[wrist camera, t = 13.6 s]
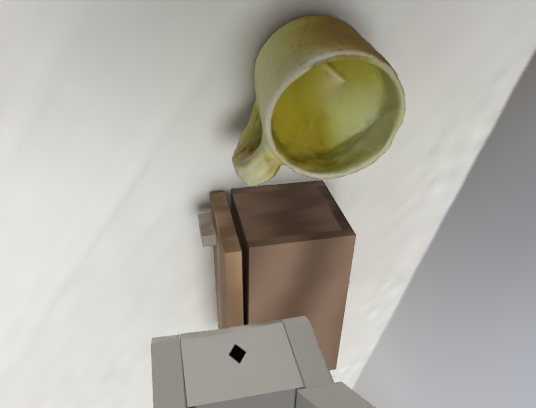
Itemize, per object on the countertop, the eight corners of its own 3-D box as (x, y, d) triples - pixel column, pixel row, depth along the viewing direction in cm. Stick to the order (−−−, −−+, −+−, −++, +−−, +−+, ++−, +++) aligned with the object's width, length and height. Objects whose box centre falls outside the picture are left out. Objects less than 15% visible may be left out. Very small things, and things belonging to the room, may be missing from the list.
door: (225, 191, 42) (243, 250, 36) (231, 324, 51) (246, 392, 44) (195, 194, 42) (207, 255, 35) (206, 328, 50) (217, 397, 44)
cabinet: (322, 180, 44) (355, 235, 38) (310, 306, 52) (335, 369, 46) (231, 189, 42) (249, 247, 36) (233, 317, 51) (248, 384, 44)
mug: (353, -44, 33) (402, 57, 27) (382, 67, 41) (424, 162, 35) (185, 34, 35) (197, 141, 30) (244, 124, 44) (263, 221, 38)
